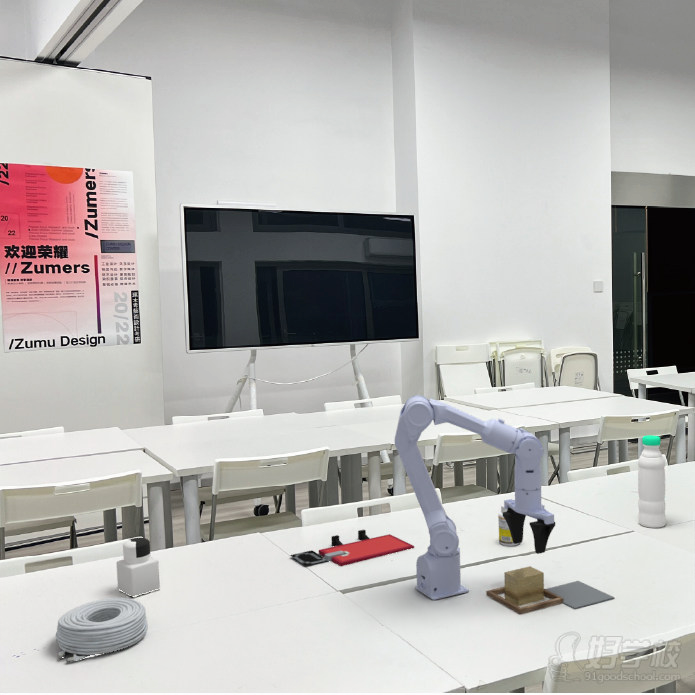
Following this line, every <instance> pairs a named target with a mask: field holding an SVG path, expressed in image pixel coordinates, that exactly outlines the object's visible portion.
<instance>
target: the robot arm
mask: <svg viewBox="0 0 695 695" xmlns="http://www.w3.org/2000/svg"><path fill="white" fill-rule="evenodd" d="M398 417H399V418H398V422H397V426H396V431H395V435H394V447H395V448H396V450H397V453H398V455H399V459H400V460H401V462H402V465H403V468H404V470H405V473H406V475H407V477H408V480H409V483H410V485H411V488H412V491H414V494H415V497H416V499H417V502H418V503H419V504H418V505H419V506H420V509H421V511H422V515H423V517H424V519H425V523H426V525H427V529H428V533H429V534H428V535H429V546H427V551H426V552H425V553H424V554H422V555H419V556H417V559H416V563H415V564H416V565H415V566H416V586H415V587H414V588H415V589H416V590H417V591H419V592H420V593H422V594H424V595H425V596H426V597H428V598H429V599H431V600H433V601H435V600H440V599H443V598H447V597H451V596H456V595H460V594H465V593H468V592H470V590H469V588H467V587H465V586H464V585H462V584H461V583H462V582H461V581H462V579H461V578H462V577H461V574H462V573H461V549H460V548H461V547H459V545H460V539H459V536H458V534H457V527H456V526H457V525H456V524H455V522H454V521H453V519H451V518H450V517H449V516H448V515H447V512H446V511H445V510H446V509H445V507H443V504H442V502H441V500H440V497H439V494H438V492H437V490H436V487H435V485H434V483H433V481H432V478H431V475H430V473H429V470H428V468H427V466H426V464H425V461H424V458H423V456H422V453H421V450H420V449H419V445H418V444H417V443H418V441H419V439H420V437H421V435H422V433H423V432H424V431H425V430H426V429H427V428H428V427H429V426H430V425H431V424H432V422H433V424H434V426H437V425H442V424H447V423H448V424H450V425H453V426H456V427H459V428H461V429H462V430H463V429H464V430H466V431H469V432H472V433H473V434H476V435H479V436H480V438H481V441H482V443H483V444H486V445H488V446H490V447H493V448H496V449H498V450H500V451H502V452H505V453H507V454H515V456H514V459H515V460H514V462H515V464H514V499H506V500H503V504H504V509H508V510H507V512H503V517H504V518H505V520H506V522H507V524H508V527H509V530H510V533H511V537H512V540H513V543H514V544H518V543H519V544H522V543H523V540H524V526H525V521H526V517H530V518H533V519H535V520H536V521H532V522H529V526H530V529H531V532H532V535H533V542H534V544H533V545H534V552H535V554H537V555H539V554H544V553H546V549H547V545H548V540H549V538H550V535H551V534H552V532H553V530H554V528H555V527H556V521H555V514H554V513H552V512H549V511H548V510H547V509H546V508H545V505H544V504H542V466H541V458H542V457H543V454H544V448H543V444H542V443H541V441H540V440H539V439H538V438H537V436H536V435H535V434H533V433H531V432H530V431H528V430H525V429H524V428H522V427H519V428H517V427H514V426H512V425H509V424H507V423H506V422H505V420H504V419H502V418H501V417H500V418H498V419H496V418H492V419H488V420H482V419H480V418H478V417H475V416H474V415H472V414H469V413H468V412H465V411H463V410H460V409H459V408H456V407H454V406H452V405H450V404H448V403H445V402H443V401H439V400H437V399H433V398H429V399H428V398H427V396H424V395H422V394H421V395H420V394H416V395H415V394H414V395H412V396H411V397H408V399H407V400H406V401H405V403H404V405H402V408H401V409H400V412H399V416H398ZM519 544H518V545H519Z"/></svg>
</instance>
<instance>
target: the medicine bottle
mask: <svg viewBox="0 0 695 695" xmlns="http://www.w3.org/2000/svg"><path fill="white" fill-rule="evenodd" d="M122 549H123V550H122V552H123V553H122V555H123V559H121V560H118V561H116V562H115V564H116V578H117V579H116V580H117V590H118V589H120V590H122V591H123V592H125V593H127V594H129V595H131V596H135V595H139V594H142V593H146V592H149V591H152V590H155V589H158V588H160V589H161V585H160V584H161V583H160V564H159V560H158V559H156V558H154V557H151V542H150V540H149V539H148V538H145V537H133V538H130V539H127V540H126V541H124V543H123V544H122Z"/></svg>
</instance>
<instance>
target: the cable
mask: <svg viewBox="0 0 695 695" xmlns="http://www.w3.org/2000/svg"><path fill="white" fill-rule="evenodd" d="M148 625H149V624H148V620H147V613H146V608H145V606H144V604H142V602H140V601H138V600H135V599H134V598H127V597H109V598H103V599H98V600H93V601H90V602H86V603H83V604H81V605H78V606H75V607H74V608H72V609H69V610H68V611H67V612H65V613H63V614H62V615H61V616H59V619H58V620H57V626H56V627H57V629H56V633H55V638H56V642H57V644H58V647H59V648H60V649H61V651H59V652H58V654H57V655H58V656H57V657H58V658H59V659H60V658H62V657H64V658H65V657H66V654H65V652H66V653H69V654H72V655H73V656H71V657H68V658H66V661H76V660H80V659H83V658H85V657H87V656H90V655H95V654H103V653H106V654H109V652H110V653H114V652H118V651H120V649H121V650H123V648H124V649H126V648H128V646H129V647H131V646H133V645H134V644H136V643H138V642H139V641H140V640H142V639H143V638H144V637H145V636H146V634H147V631H148ZM117 650H118V651H117ZM113 651H114V652H113ZM103 655H104V654H103ZM76 662H77V661H76Z"/></svg>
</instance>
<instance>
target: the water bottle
mask: <svg viewBox="0 0 695 695" xmlns="http://www.w3.org/2000/svg"><path fill="white" fill-rule="evenodd" d="M641 442H642V446H643V450H642V451H641V453H640V455H639V458H638V459H637V465H638V472H637V478H638V479H637V488H638V503H637V506H638V520H637V521H638V524H639V525H641V526H642V527H644V528H651V529H659V528H663V527H664V526H665V525H666V501H665V497H666V470H665V467H666V460H665V459H664V457H663V454H662V451H660V446H661V442H662V441H661V437H660V436H658V435H653V434H652V435H649V434H648V435H643V436H642V438H641Z"/></svg>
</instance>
